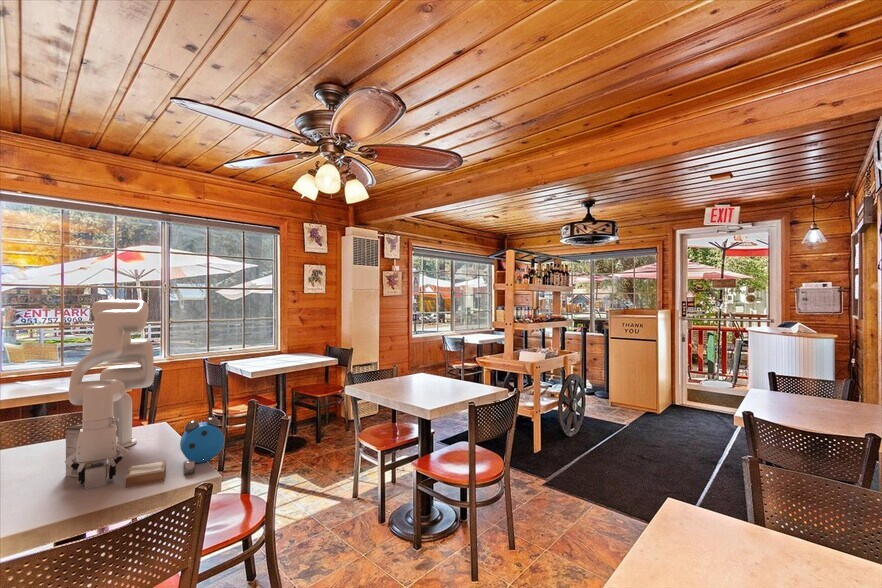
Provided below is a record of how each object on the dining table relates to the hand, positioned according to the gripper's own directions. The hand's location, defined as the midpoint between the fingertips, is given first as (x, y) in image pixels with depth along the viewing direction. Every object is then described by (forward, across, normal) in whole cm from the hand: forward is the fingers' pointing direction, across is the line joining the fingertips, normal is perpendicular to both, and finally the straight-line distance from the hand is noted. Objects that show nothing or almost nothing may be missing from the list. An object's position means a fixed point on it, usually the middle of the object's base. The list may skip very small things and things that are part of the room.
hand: (97, 480), depth 133 cm
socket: (+1, -25, +6) cm, 26 cm away
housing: (+1, 0, 0) cm, 1 cm away
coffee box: (+1, +5, -14) cm, 15 cm away
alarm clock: (+1, -29, -5) cm, 29 cm away
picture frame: (+1, -13, +3) cm, 13 cm away
